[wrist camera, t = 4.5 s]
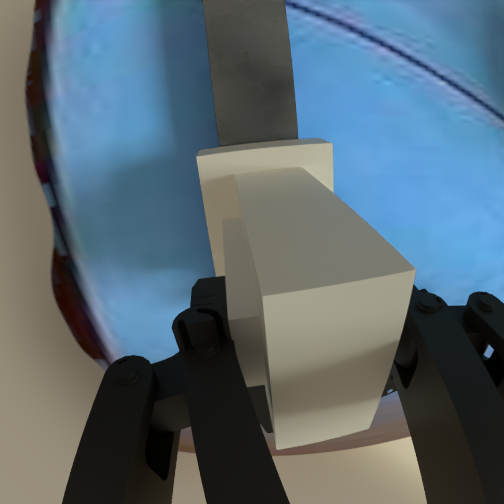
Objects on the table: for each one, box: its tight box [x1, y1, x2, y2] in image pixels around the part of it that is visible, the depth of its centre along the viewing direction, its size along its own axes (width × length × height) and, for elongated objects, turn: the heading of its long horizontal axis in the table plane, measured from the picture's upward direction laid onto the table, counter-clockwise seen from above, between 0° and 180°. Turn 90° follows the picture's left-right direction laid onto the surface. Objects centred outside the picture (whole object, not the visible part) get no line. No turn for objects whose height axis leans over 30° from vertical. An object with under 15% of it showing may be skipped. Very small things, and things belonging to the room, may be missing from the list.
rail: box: [203, 0, 298, 147], centre depth 14 cm, size 24×5×4 cm, turn 5°
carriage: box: [196, 138, 416, 450], centre depth 11 cm, size 8×6×11 cm
